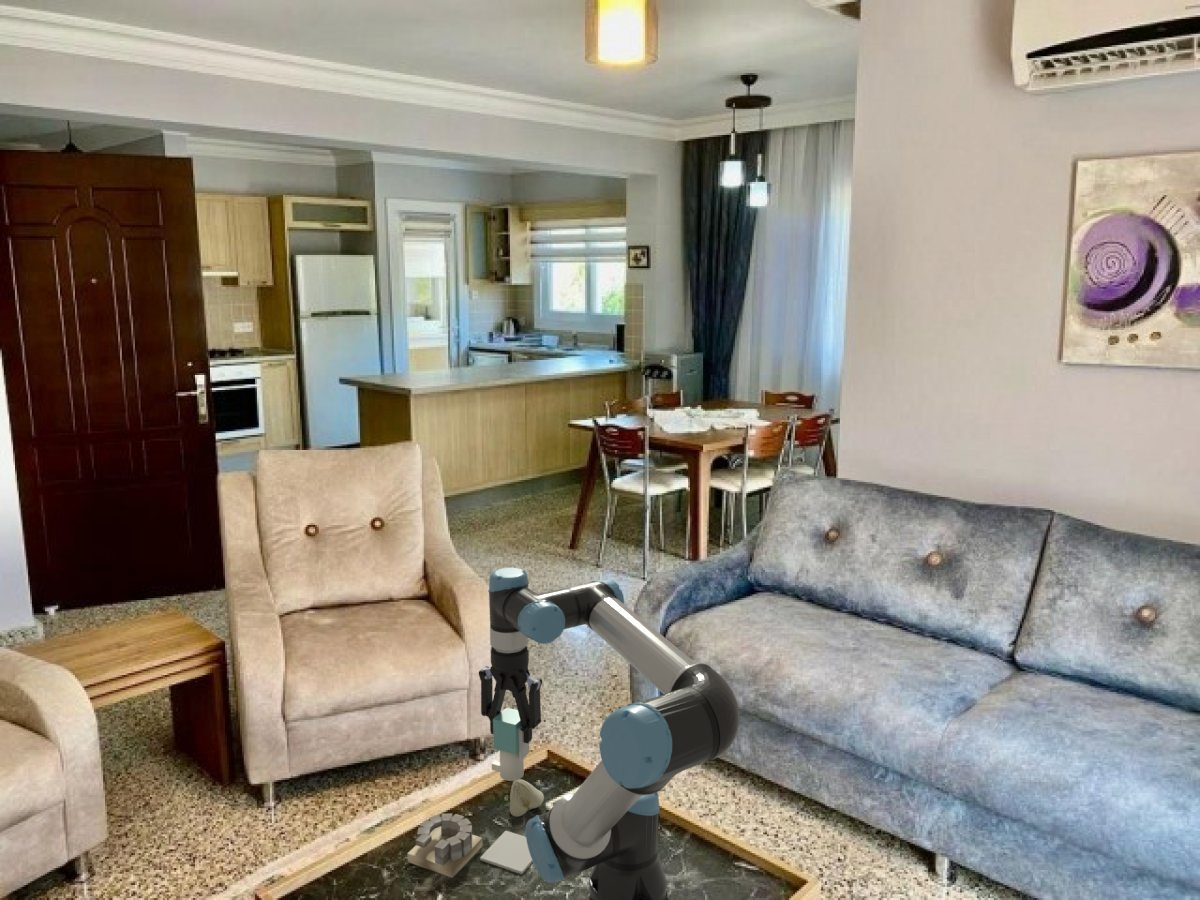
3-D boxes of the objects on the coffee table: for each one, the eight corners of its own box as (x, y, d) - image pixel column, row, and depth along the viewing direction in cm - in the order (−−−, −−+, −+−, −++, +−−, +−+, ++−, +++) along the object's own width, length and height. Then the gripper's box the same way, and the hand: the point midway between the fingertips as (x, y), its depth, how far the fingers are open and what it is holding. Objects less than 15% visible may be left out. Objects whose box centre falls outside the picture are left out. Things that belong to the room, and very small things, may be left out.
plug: (529, 770, 188) (528, 713, 185) (516, 783, 183) (515, 724, 180) (500, 762, 191) (499, 705, 188) (486, 775, 186) (485, 716, 183)
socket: (482, 846, 192) (481, 822, 191) (452, 877, 183) (451, 852, 181) (439, 832, 197) (438, 808, 196) (407, 861, 187) (406, 837, 186)
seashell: (509, 816, 199) (497, 784, 204) (518, 829, 205) (507, 797, 210) (543, 799, 200) (530, 767, 205) (551, 812, 206) (539, 781, 211)
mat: (546, 845, 192) (546, 843, 192) (522, 874, 184) (522, 871, 184) (505, 832, 197) (505, 830, 197) (480, 860, 188) (480, 857, 188)
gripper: (559, 646, 180) (559, 753, 185) (480, 630, 188) (483, 733, 193) (540, 662, 173) (541, 772, 178) (460, 644, 181) (463, 750, 186)
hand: (511, 751), depth 185 cm, fingers closed on plug, 5 cm apart
